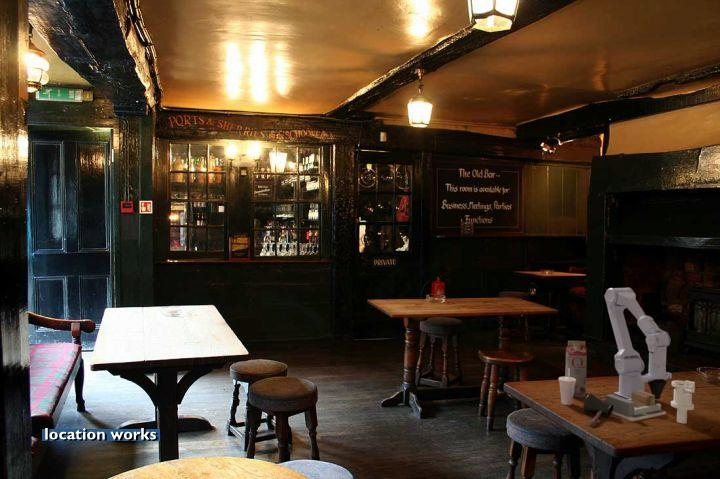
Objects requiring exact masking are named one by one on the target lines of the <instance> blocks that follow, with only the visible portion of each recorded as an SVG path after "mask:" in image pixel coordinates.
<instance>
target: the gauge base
mask: <svg viewBox="0 0 720 479" xmlns="http://www.w3.org/2000/svg"><path fill="white" fill-rule="evenodd" d="M604 402H605V403H607V404H608V405H613V412H612V415H615V416H618V417H619V418H622V419H625V420H628V421H630V422H635V421H640V420H641V421H642V420H645V419H649V418H655V417H660V416H664V415H666V414H667V411H665V410H662V403H661V404H660V403H655V404H656V405H659V406H658V407H657V406H654V405H649V406H644V407H639V408H637V407H635V402H633V401H631V399H628V398H625V397H622V396H619V395H616V394H614V393H613V394H612V393H610V394H609V393H608V394H605V401H604Z"/></svg>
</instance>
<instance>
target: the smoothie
mask: <svg viewBox="0 0 720 479" xmlns="http://www.w3.org/2000/svg"><path fill="white" fill-rule="evenodd" d="M558 382H559V391H560V399H561V400H560V402H561V404H562V405H565V406H571V405H572V404H573V400H574V399H573V398H574V397H573V393H574V387H575V383H576V379H574V378H571V377H570V368H568V377H565V376H559V377H558Z"/></svg>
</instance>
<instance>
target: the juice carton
mask: <svg viewBox="0 0 720 479" xmlns="http://www.w3.org/2000/svg"><path fill="white" fill-rule="evenodd" d="M587 356H588V350H587V346H586V341H585V340H583V341H582V340H568V341H567V345H566V347H565V373H564V374H565V376H564V377H568V368H570V377H571V378H574V379H576V383H575V387H574V393H573V398H574V397H575V398H586V397H587V395H586V393H587V364H588V363H587V361H588V360H587V359H588V358H587Z"/></svg>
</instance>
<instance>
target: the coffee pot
mask: <svg viewBox="0 0 720 479" xmlns="http://www.w3.org/2000/svg"><path fill="white" fill-rule="evenodd" d="M582 409H583V413H585V414H592V415H594V417H593V418H592V419H591V420H587V421H586V425H587V426H589V427H590V428H594V427H596V425H597V424H598V422H599V418H600V417H601V416H605V417H607V419H609V418H611V417H612V415H613V414H612V412H613V405H608V404H607V403H605V401H604V400H603V399H601V398H600V397H598V396H597V395H595V394H594V393H592V392H590V393H588V394H587V395H586V397H585V400H584V402H583V408H582ZM588 423H589V424H588Z"/></svg>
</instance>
